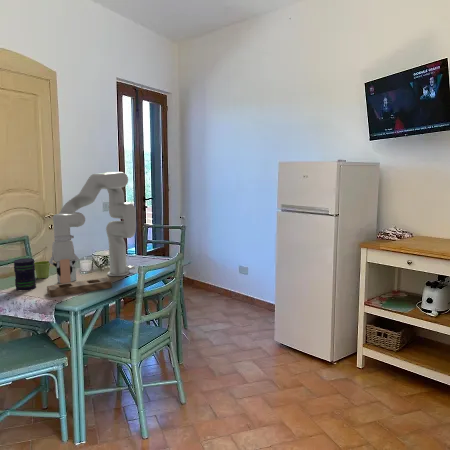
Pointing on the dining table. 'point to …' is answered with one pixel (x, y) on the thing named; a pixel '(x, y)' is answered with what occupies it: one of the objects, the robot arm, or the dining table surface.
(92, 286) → the rail
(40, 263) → the plant pot
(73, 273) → the supplement box
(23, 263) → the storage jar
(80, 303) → the dining table surface
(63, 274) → the peg
